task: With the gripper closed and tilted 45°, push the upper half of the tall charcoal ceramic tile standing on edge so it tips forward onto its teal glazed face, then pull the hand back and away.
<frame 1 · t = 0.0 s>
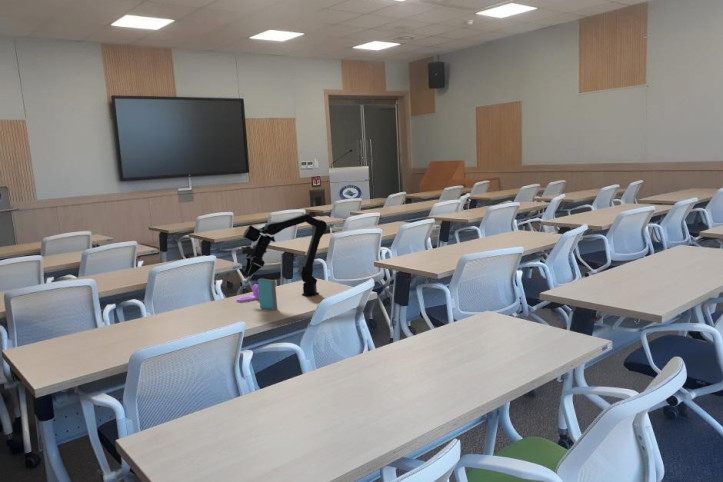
hand: (247, 274, 278), 15 cm above the table, tool tilted 35°, fingers open, 9 cm apart
bracket: (249, 300, 289), on the table
tile: (268, 308, 270), on the table
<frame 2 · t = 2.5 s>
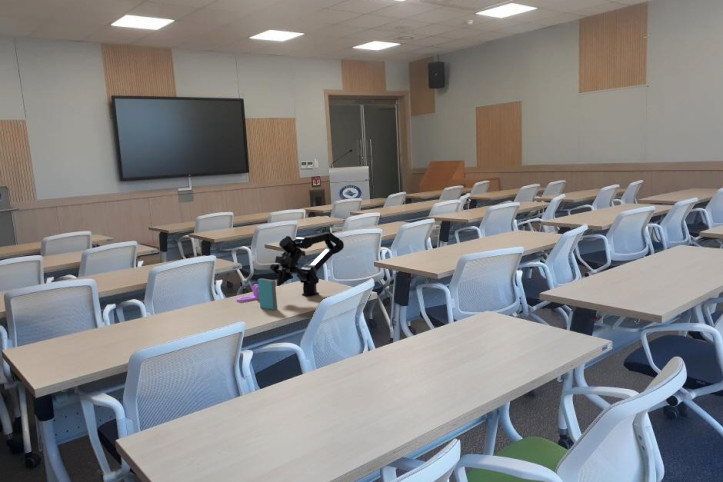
hand: (278, 285, 274), 10 cm above the table, tool tilted 45°, fingers closed
nothing on the table moved.
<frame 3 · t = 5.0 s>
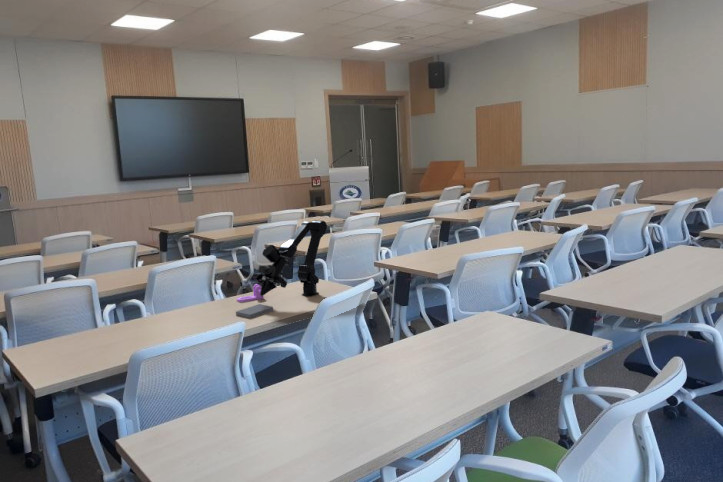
hand: (261, 295, 266), 7 cm above the table, tool tilted 45°, fingers closed
tile: (266, 307, 269), point 1 cm above the table, tilted 90°
everything else where it was.
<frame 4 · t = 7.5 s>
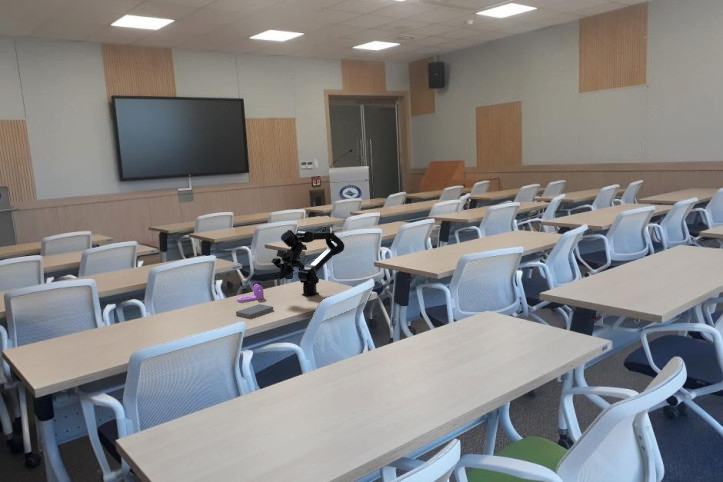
hand: (279, 278, 274), 13 cm above the table, tool tilted 45°, fingers closed
nothing on the table moved.
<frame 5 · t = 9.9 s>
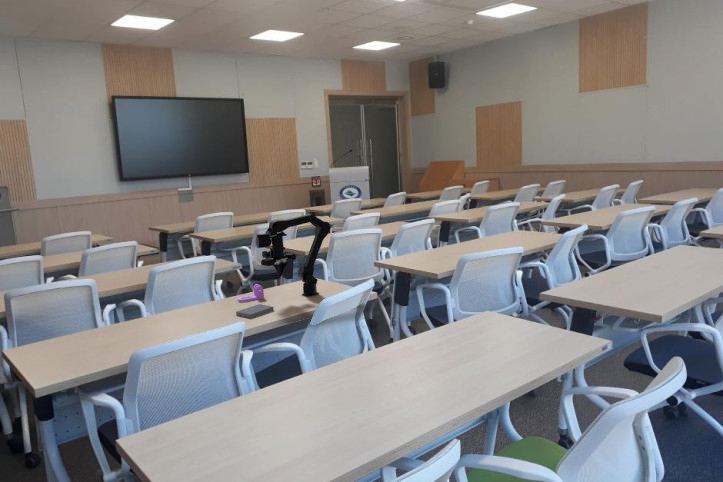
hand: (280, 276, 282), 12 cm above the table, tool pointing down, fingers closed
nothing on the table moved.
at the end: tile tilted 90°; tile inside the target area (4.0 cm from its centre), point 0.8 cm above the table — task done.
